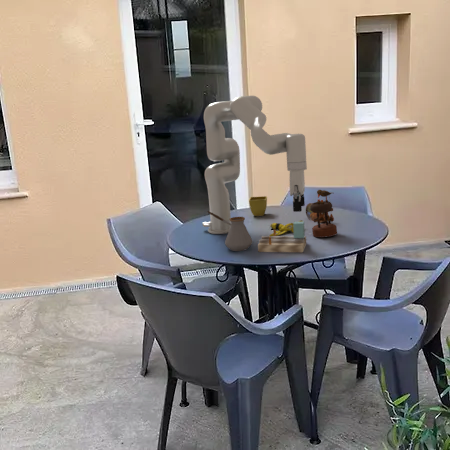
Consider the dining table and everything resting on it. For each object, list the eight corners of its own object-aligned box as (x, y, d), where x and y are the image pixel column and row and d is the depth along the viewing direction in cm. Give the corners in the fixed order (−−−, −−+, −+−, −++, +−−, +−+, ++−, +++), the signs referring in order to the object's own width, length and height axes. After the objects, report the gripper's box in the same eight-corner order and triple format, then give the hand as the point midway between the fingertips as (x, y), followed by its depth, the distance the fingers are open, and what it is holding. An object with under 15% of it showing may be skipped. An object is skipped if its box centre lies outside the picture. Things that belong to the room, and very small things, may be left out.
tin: (305, 218, 260) (304, 201, 258) (310, 217, 261) (310, 200, 259) (324, 224, 247) (323, 206, 245) (329, 223, 248) (329, 205, 246)
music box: (322, 229, 238) (321, 186, 233) (343, 232, 231) (343, 188, 226) (302, 237, 228) (301, 192, 223) (324, 241, 220) (323, 194, 215)
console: (258, 251, 214) (257, 237, 212) (263, 243, 225) (263, 229, 223) (302, 252, 209) (302, 237, 207) (306, 243, 220) (305, 229, 218)
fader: (294, 241, 213) (293, 223, 211) (295, 238, 216) (294, 221, 214) (303, 241, 212) (303, 223, 210) (304, 238, 215) (304, 221, 213)
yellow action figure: (282, 215, 251) (307, 218, 240) (283, 223, 252) (308, 226, 241) (254, 230, 239) (279, 234, 228) (256, 238, 241) (281, 242, 230)
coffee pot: (258, 246, 221) (256, 211, 217) (243, 254, 212) (240, 218, 208) (217, 240, 233) (214, 207, 230) (201, 248, 225) (198, 213, 221)
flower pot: (251, 213, 278) (250, 196, 276) (268, 212, 277) (267, 195, 275) (249, 217, 270) (248, 200, 268) (266, 216, 269) (266, 199, 266)
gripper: (290, 163, 215) (292, 204, 219) (283, 169, 199) (286, 214, 203) (308, 162, 213) (310, 203, 217) (303, 168, 197) (306, 213, 201)
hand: (299, 208), depth 210 cm, fingers open, 9 cm apart
